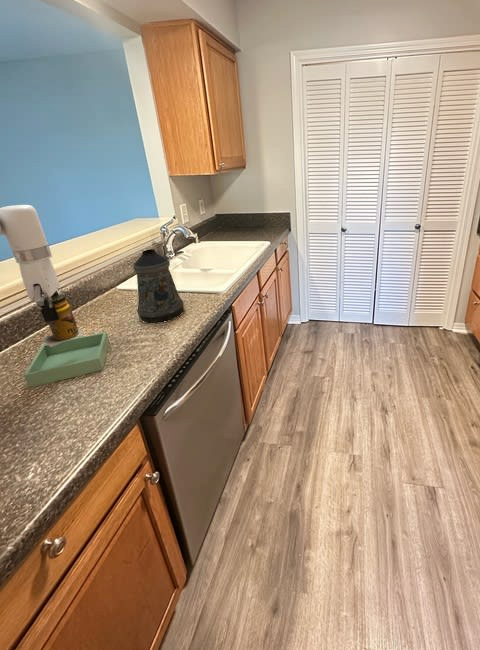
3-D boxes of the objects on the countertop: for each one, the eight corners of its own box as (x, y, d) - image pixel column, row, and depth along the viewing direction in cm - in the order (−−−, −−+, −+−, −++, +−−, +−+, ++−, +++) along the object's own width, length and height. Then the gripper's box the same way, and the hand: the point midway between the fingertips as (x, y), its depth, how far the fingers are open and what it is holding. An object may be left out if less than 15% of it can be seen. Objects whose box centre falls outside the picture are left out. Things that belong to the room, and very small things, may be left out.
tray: (29, 387, 87) (23, 375, 85) (46, 356, 101) (42, 344, 100) (102, 370, 93) (98, 358, 91) (109, 342, 107) (106, 331, 106)
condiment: (84, 334, 94) (71, 296, 90) (51, 347, 88) (35, 308, 84) (74, 327, 99) (61, 291, 94) (41, 340, 92) (26, 302, 88)
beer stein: (151, 328, 114) (134, 261, 105) (129, 313, 127) (112, 252, 117) (192, 312, 126) (180, 250, 116) (169, 299, 138) (156, 242, 128)
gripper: (26, 248, 90) (48, 306, 97) (1, 265, 75) (29, 332, 82) (58, 244, 93) (77, 301, 100) (40, 260, 78) (64, 325, 85)
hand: (55, 314), depth 91 cm, fingers closed on condiment, 6 cm apart
